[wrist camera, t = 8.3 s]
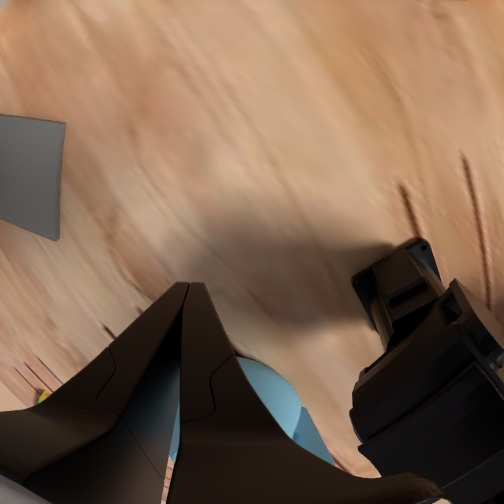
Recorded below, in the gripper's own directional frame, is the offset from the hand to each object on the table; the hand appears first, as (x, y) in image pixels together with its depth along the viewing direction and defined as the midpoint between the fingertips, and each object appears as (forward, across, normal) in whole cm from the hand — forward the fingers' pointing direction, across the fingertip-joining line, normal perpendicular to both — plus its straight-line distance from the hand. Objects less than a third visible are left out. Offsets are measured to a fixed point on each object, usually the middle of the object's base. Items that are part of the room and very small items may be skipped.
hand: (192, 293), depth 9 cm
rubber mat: (+15, +22, -1) cm, 26 cm away
